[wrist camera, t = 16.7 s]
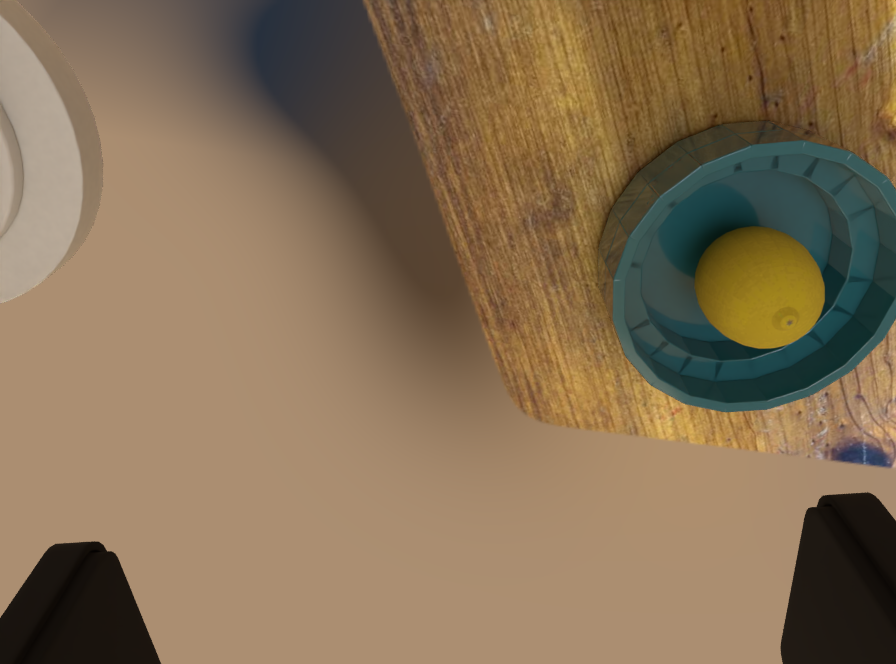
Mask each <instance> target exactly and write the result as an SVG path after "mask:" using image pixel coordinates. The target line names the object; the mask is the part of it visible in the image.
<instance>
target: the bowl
mask: <svg viewBox="0 0 896 664" xmlns="http://www.w3.org/2000/svg"><path fill="white" fill-rule="evenodd" d="M750 226H758V227H768V228H772V229H775V230H777V231H780V232H783V233H786V234H788V235H789V236H791V237H792V238H794V239H795V240H796V241H798V242H799V243H800V244H802V245H803V246H804V247H805V248H806V249H807V250H808V252H809V253H810V254H811V256H812V257H813V259H814V260H815V262H816V263H817V265H818V267H819V269H820V272H821V275H822V278H823V282H824V286H825V302H824V305H823V308H822V312H821V314H820V316H819V318H818V320H817V321H816V323H815V325H814V326H813V327H812V328H811V329H810V330H809V331H808V332H807V333H806V334H805V335H804V336H802V337H801V338H799V339H798V340H796V341H794V342H792V343H790V344H788V345H785V346H781V347H777V348H766V349H758V348H754V347H749V346H744V345H742V344H740V343H738V342H736V341H734V340H731V339H729V338H728V337H726V336H725V335H723V334H722V333H721V332H720V331H719V330H717V329H716V328H715V327H714V326H713V325H712V324H711V323H710V322H709V321H708V320H707V318H706V316H705V315H704V313H703V311H702V309H701V308H700V306H699V303H698V300H697V296H696V291H695V272H696V269H697V266H698V263H699V260H700V258H701V256H702V255H703V253H704V252H705V250H706V249H707V248H708V247H709V246H710V245H711V244H712V243H713V242H714V241H715V240H716V239H717V238H719V237H721V236H722V235H724V234H725V233H727V232H730V231H732V230H735V229H738V228H743V227H750ZM598 285H599V289H600V292H601V295H602V298H603V300H604V303H605V306H606V309H607V311H608V314H609V317H610V319H611V322H612V324H613V327H614V329H615V332H616V334H617V337H618V339H619V342H620V344H621V347H622V349H623V352H624V354H625V356H626V358H627V359H628V360H629V361H630V362H631V364H632V365H633V366H634V367H635V368H636V369H637V370H638V372H639V373H640V374H641V375H642V376H643V377H644V378H645V380H646V381H647V382H648V383H649V384H650V385H651V386H653V387H655V388H657V389H658V390H660V391H662V392H664V393H666V394H667V395H669V396H671V397H673V398H675V399H676V400H678V401H680V402H682V403H685V404H687V405H692V406H697V407H701V408H706V409H711V410H716V411H721V412H738V411H753V410H767V409H771V408H774V407H777V406H780V405H783V404H786V403H790V402H793V401H796V400H799V399H802V398H805V397H808V396H810V395H813V394H815V393H816V392H818V391H820V390H821V389H823V388H825V387H826V386H828V385H830V384H831V383H833V382H835V381H836V380H838V379H839V378H841V377H843V376H844V375H846V374H848V373H849V372H850V371H852V370H853V369H854V368H855V367H856V366H857V365H858V364H859V363H860V362H861V361H862V360H863V359H864V358H865V357H866V356H867V355H868V354H869V353H870V352H871V351H872V350H873V349H874V348H875V347H876V346H877V345H878V344H879V343H880V342H881V341H882V340H883V339H884V338H885V336H886V335H887V333H888V331H889V330H890V328H891V326H892V324H893V323H894V321H895V319H896V189H895V187H894V186H893V184H892V183H891V181H890V179H889V178H888V177H887V176H886V175H884V174H883V173H882V172H880V171H879V170H877V169H876V168H874V167H873V166H872V165H870V164H869V163H867V162H866V161H864V160H863V159H862V158H860V157H859V156H857V155H856V154H855V153H853V152H851V151H849V150H847V149H845V148H843V147H841V146H839V145H837V144H835V143H833V142H831V141H829V140H827V139H825V138H823V137H821V136H819V135H817V134H815V133H813V132H811V131H809V130H805V129H801V128H797V127H793V126H789V125H785V124H781V123H777V122H773V121H755V122H743V123H732V124H722V125H718V126H716V127H713V128H711V129H708V130H706V131H703V132H701V133H698V134H696V135H693V136H691V137H688V138H686V139H683V140H681V141H678V142H677V143H676V144H674V145H672V146H671V147H670V148H669V149H667V150H666V151H665V152H663V153H662V154H661V155H660V156H658V157H657V158H656V159H654V160H653V161H652V162H651V163H649V164H648V165H647V166H645V167H644V168H643V169H642V170H640V172H638V173H637V174H636V176H635V177H634V178H633V180H632V181H631V183H630V184H629V185H628V187H627V188H626V189H625V191H624V192H623V193H622V195H621V196H620V198H619V199H618V200H617V202H616V203H615V204H614V206H613V207H612V209H611V212H610V215H609V218H608V221H607V224H606V227H605V229H604V232H603V235H602V238H601V241H600V244H599V249H598Z"/></svg>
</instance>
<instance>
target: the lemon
mask: <svg viewBox="0 0 896 664" xmlns="http://www.w3.org/2000/svg"><path fill="white" fill-rule="evenodd" d="M695 291H696V296H697V300H698V303H699V306H700V308H701V309H702V311H703V313H704V315H705V316H706V318H707V320H708V321H709V322H710V323H711V324H712V325H713V326H714V327H715V328H716V329H717V330H719V331H720V332H721V333H722V334H723V335H725V336H726V337H728V338H729V339H731V340H734V341H736V342H738V343H740V344H742V345H744V346H749V347H754V348H758V349H766V348H777V347H781V346H785V345H788V344H790V343H792V342H794V341H796V340H798V339H799V338H801V337H802V336H804V335H805V334H806V333H807V332H808V331H809V330H810V329H811V328H812V327H813V326H814V325H815V323H816V321H817V320H818V318H819V316H820V314H821V312H822V308H823V305H824V302H825V286H824V282H823V278H822V275H821V272H820V269H819V267H818V265H817V263H816V262H815V260H814V259H813V257H812V256H811V254H810V253H809V252H808V250H807V249H806V248H805V247H804V246H803V245H802V244H800V243H799V242H798V241H796V240H795V239H794V238H792V237H791V236H789V235H788V234H786V233H783V232H780V231H777V230H775V229H772V228H768V227H758V226H750V227H743V228H738V229H735V230H732V231H730V232H727V233H725V234H724V235H722V236H721V237H719V238H717V239H716V240H715V241H714V242H713V243H712V244H711V245H710V246H709V247H708V248H707V249H706V250H705V252H704V253H703V255H702V256H701V258H700V260H699V263H698V266H697V269H696V272H695Z"/></svg>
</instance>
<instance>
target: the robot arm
mask: <svg viewBox="0 0 896 664" xmlns="http://www.w3.org/2000/svg"><path fill="white" fill-rule="evenodd" d="M22 188H23V168H22V161H21V153H20V149H19V146H18V143H17V140H16V137H15V133H14V130H13V127H12V125H11V123H10V121H9V119H8V117H7V115H6V113H5V111H4V109H3V108H2V106H1V104H0V238H1V237H2V236H3V235H4V234H5V233H6V232H7V230H8V228H9V227H10V225H11V224H12V222H13V220H14V219H15V217H16V214H17V211H18V208H19V205H20V201H21V198H22ZM781 656H782V662H783V664H896V521H895V519H894V518H893V517H892V516H891V514H890V513H889V512H888V511H887V509H886V508H885V507H884V505H883V504H882V503H881V502H880V500H879V499H877V498H876V496H874V495H873V494H871V493H853V494H838V495H825V496H822V497H821V498H820V499H819V502H818V505H817V507H811V508H808V510H807V511H806V514H805V518H804V523H803V529H802V534H801V539H800V544H799V550H798V555H797V560H796V566H795V572H794V576H793V582H792V587H791V593H790V598H789V603H788V608H787V613H786V619H785V624H784V629H783V635H782V640H781ZM0 664H161V662H160V660H159V658H158V655H157V653H156V650H155V648H154V645H153V643H152V640H151V638H150V636H149V633H148V631H147V628H146V626H145V623H144V621H143V618H142V616H141V613H140V611H139V608H138V606H137V604H136V601H135V599H134V596H133V594H132V591H131V589H130V586H129V584H128V581H127V579H126V577H125V574H124V572H123V569H122V567H121V564H120V562H119V560H118V557H117V556H116V554H115V553H113V552H111V551H110V552H109V551H108V552H107V550H106V549H105V547H104V545H103V544H101V543H100V542H79V543H63V544H55V545H53V546H51V547H50V548H49V549H48V550H47V551H46V552H45V553H44V555H43V556H42V558H41V559H40V561H39V562H38V564H37V565H36V566H35V568H34V569H33V571H32V572H31V574H30V575H29V577H28V578H27V580H26V581H25V583H24V584H23V585H22V587H21V588H20V590H19V591H18V593H17V594H16V596H15V597H14V599H13V600H12V602H11V603H10V604H9V606H8V608H7V609H6V610H5V612H4V613H3V615H2V616H1V618H0Z"/></svg>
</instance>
